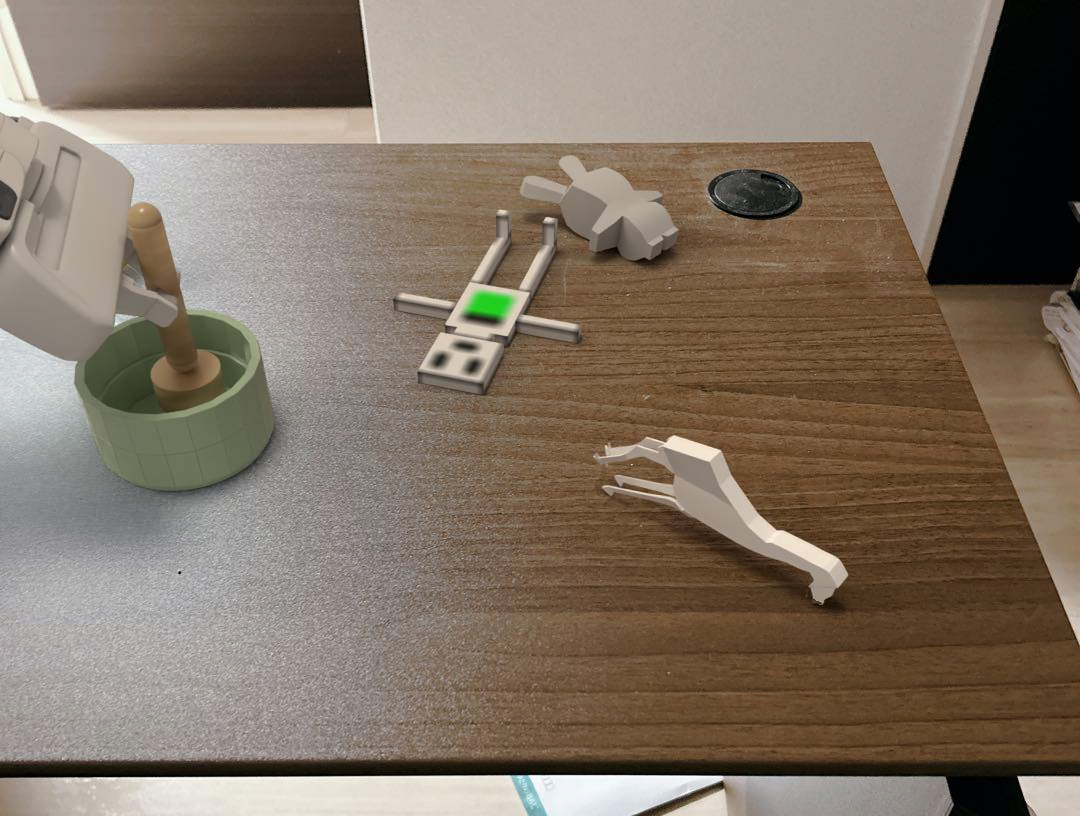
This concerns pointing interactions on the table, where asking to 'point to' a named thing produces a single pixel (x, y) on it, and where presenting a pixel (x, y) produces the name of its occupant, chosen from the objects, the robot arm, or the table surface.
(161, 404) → the wooden tamper
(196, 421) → the bowl
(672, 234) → the bunny figurine
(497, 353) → the robot figure
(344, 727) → the table surface
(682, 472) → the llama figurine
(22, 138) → the robot arm
